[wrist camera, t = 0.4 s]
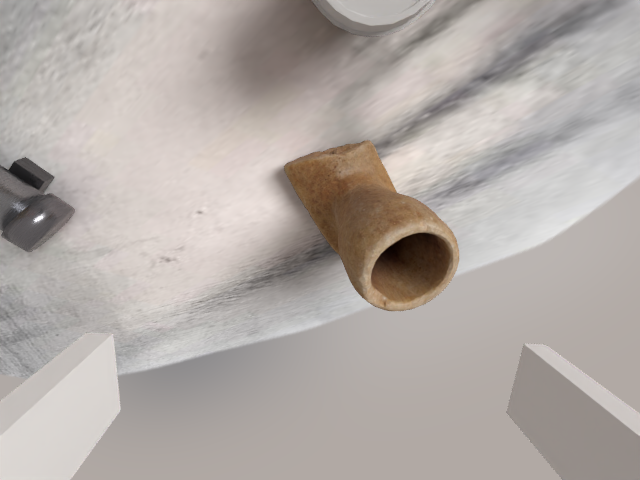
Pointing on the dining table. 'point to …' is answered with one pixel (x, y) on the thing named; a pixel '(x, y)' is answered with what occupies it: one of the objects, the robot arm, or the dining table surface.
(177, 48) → the dining table surface
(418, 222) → the tan flared piece
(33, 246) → the valve pipe
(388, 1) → the disposable coffee cup
